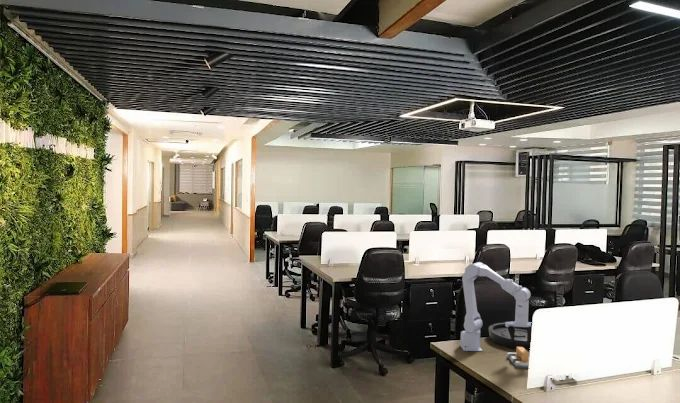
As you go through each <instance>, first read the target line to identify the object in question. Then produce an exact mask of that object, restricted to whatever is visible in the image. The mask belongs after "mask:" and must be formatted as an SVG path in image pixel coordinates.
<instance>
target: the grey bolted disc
mask: <svg viewBox="0 0 680 403" xmlns="http://www.w3.org/2000/svg"><path fill="white" fill-rule="evenodd" d="M514 329H515V334H514V342H512V341H511V337H510V333H509V331H508V328H507V327H506V326H505V322H498V323H493V324H491V325H489V326H488V333H489V334H488V335H489V337H490V339H491V340H492V342H493V343H496V344H497V345H500V346H501V347H505V348H508V349H512V350H516V348H517V347H523V348H524V349H525V350H527V351H530V350H529V348H530V343H528V342H527V327H514Z"/></svg>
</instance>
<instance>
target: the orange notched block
mask: <svg viewBox="0 0 680 403" xmlns="http://www.w3.org/2000/svg"><path fill="white" fill-rule="evenodd" d="M515 350H516V352H515V353H516V356H520V357H521V361H528V359H529V356H530V353H529V350H525V349H524V348H523V347H517V348H516V349H515Z"/></svg>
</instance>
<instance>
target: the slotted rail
mask: <svg viewBox="0 0 680 403" xmlns="http://www.w3.org/2000/svg"><path fill="white" fill-rule="evenodd" d="M506 358H507V359H508V360H509V361H510V363H512V364H513V366H514V367H515V368H516V369H529V368H528V361H521V357H520V356H516V352H509V351H508V352H507V353H506Z"/></svg>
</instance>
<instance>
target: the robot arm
mask: <svg viewBox="0 0 680 403" xmlns="http://www.w3.org/2000/svg"><path fill="white" fill-rule="evenodd" d="M478 277H487V278H489V279H490V280H493V281H494V282H496V283H497V284H499V285H500V287H501V289H502V290H503V291H505V292H507V293H509V295H511V296H512V297H514V299H515V311H514V312H515V314H514V321H513V320H512V321H505V322H504V323H505V326H506V327H507V328H508V331H509V333H510V337H511V341H512V342H514V334H515V329H514V327H527V342H528V343H530V342H531V323H533V322H531V321H529V305H530V304H529V303H530V301H529V299H530V298H531V295H532V294H531V291H530V290H529V289H528V288H527V287H525V286H524V287H523V286H522V285H519V284H518V283H516V282H515V281H514V279H511V278H504V277H502V276H501V275H500V274H499V273H497V272H495V271H494V270H493V269H491V267H489V266H488V265H487V264H484V263H483V262H481V261H477V262H474V263H470V264H468V265H467V266H466V267H465V268H464V272H463V275H462V278H461V280H462V288H463V295H464V302H465V309H466V310H465V311H466V313H465V316H464V323H463V328H464V330H462V331H461V330H460V341H459V342H460V343H459V346H460V347H461V349H462V351H463V352H483V349H482V348H481V328H482V327H483V320H482V318H481V315H480V313H479V312H478V307H477V298H476V290H475V285H474V284H475V283H474V281H475V280H476V279H477V278H478Z"/></svg>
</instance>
